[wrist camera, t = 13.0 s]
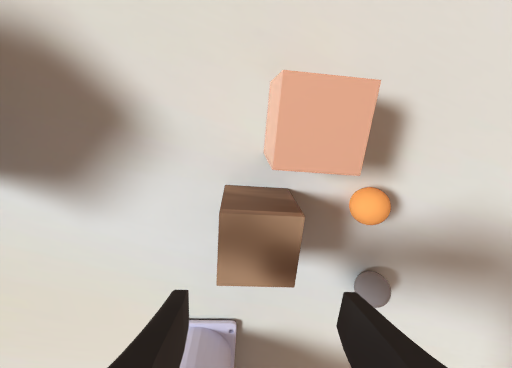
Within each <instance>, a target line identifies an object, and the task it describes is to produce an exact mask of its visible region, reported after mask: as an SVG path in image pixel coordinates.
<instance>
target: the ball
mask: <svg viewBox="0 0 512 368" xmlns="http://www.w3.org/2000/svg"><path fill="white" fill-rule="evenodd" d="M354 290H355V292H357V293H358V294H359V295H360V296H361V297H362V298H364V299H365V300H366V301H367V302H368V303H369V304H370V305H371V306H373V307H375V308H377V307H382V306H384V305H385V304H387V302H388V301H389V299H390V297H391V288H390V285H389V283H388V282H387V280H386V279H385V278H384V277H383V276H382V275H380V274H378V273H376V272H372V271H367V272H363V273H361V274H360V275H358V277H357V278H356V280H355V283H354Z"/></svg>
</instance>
